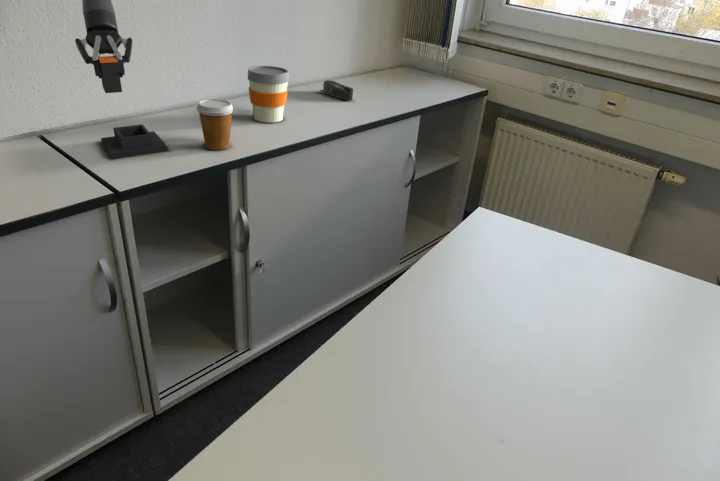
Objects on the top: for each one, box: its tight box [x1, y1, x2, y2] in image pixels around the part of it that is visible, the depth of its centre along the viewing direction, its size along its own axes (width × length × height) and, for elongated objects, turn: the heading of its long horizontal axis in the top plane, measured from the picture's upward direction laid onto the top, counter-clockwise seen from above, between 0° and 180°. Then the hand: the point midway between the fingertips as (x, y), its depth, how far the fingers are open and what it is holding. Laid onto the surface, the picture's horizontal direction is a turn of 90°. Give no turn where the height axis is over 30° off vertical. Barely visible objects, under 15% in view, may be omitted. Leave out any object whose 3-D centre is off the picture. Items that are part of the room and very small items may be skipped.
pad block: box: [98, 55, 123, 94], centre depth 139 cm, size 4×5×8 cm
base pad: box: [100, 123, 168, 160], centre depth 144 cm, size 14×12×4 cm
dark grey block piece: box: [319, 79, 354, 102], centre depth 197 cm, size 5×3×15 cm
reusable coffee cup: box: [247, 65, 290, 123], centre depth 169 cm, size 13×13×15 cm
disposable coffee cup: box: [196, 98, 235, 151], centre depth 147 cm, size 10×10×12 cm
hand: (110, 76), depth 138 cm, fingers closed on pad block, 4 cm apart
